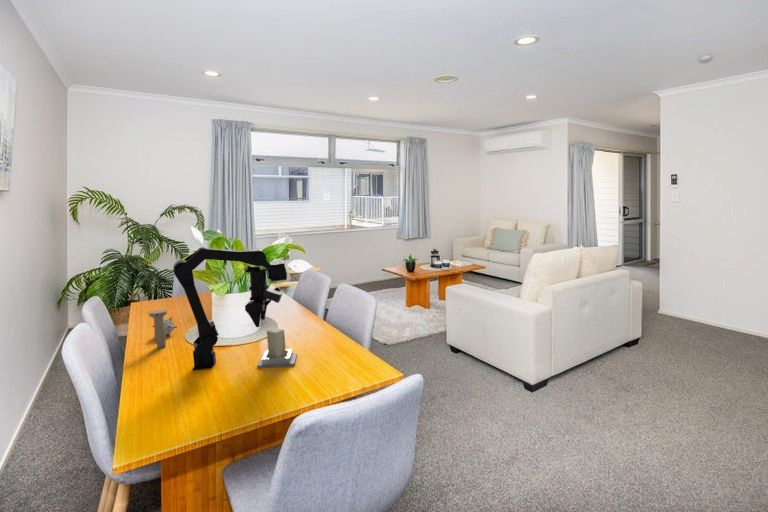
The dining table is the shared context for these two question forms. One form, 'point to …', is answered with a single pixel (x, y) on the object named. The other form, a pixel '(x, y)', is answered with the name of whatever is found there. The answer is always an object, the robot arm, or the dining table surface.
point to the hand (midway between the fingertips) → (260, 323)
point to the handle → (159, 327)
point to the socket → (277, 360)
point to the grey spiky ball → (168, 326)
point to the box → (276, 343)
